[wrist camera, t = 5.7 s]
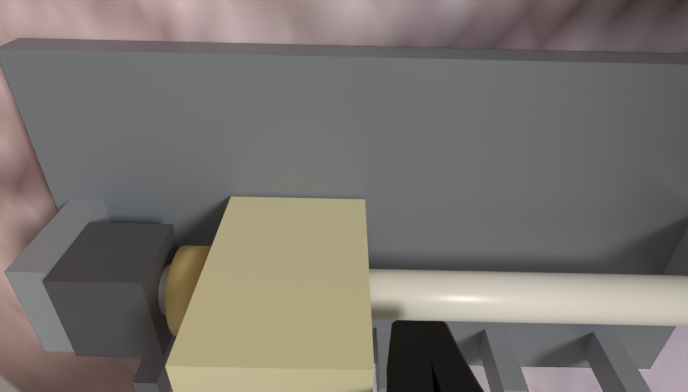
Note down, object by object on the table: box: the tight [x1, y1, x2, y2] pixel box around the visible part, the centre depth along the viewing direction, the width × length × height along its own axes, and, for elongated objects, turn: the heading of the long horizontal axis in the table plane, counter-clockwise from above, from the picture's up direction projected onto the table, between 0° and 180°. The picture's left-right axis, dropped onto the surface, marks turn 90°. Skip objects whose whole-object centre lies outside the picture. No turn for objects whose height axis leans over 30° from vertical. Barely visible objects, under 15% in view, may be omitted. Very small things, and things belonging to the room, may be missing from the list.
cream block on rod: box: [165, 196, 374, 392], centre depth 12 cm, size 4×4×6 cm
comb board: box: [0, 38, 688, 392], centre depth 14 cm, size 21×12×4 cm, turn 89°
